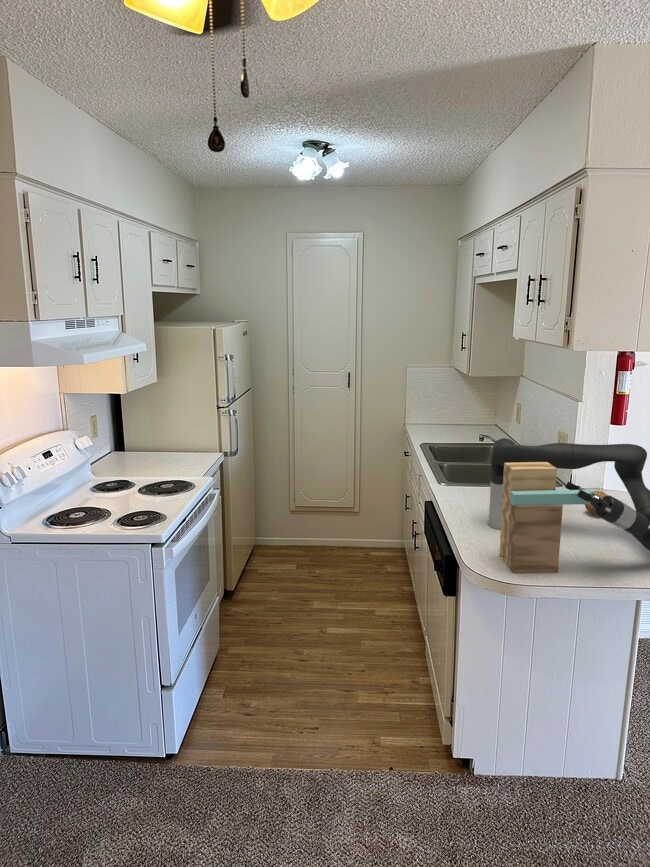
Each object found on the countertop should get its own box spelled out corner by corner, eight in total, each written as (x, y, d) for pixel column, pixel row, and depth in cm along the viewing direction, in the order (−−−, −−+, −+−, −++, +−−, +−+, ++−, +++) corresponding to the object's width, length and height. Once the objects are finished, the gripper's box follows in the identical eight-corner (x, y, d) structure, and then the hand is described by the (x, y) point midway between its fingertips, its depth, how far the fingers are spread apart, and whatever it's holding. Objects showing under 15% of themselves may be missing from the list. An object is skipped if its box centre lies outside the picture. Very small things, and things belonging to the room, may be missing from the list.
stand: (499, 555, 199) (504, 462, 193) (540, 554, 200) (547, 461, 193) (507, 565, 192) (512, 469, 185) (550, 564, 192) (557, 468, 185)
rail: (509, 501, 185) (510, 491, 184) (586, 500, 186) (587, 489, 185) (513, 505, 182) (514, 494, 181) (591, 504, 182) (592, 493, 181)
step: (508, 566, 191) (511, 501, 186) (551, 565, 191) (556, 500, 186) (513, 573, 186) (517, 506, 181) (557, 572, 186) (562, 505, 181)
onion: (611, 513, 238) (613, 489, 235) (610, 521, 229) (612, 496, 227) (584, 509, 242) (586, 486, 240) (582, 517, 233) (584, 492, 231)
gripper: (611, 495, 191) (569, 471, 189) (634, 510, 177) (590, 485, 175) (598, 514, 192) (556, 491, 190) (620, 531, 178) (576, 506, 176)
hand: (572, 488), depth 183 cm, fingers open, 8 cm apart
